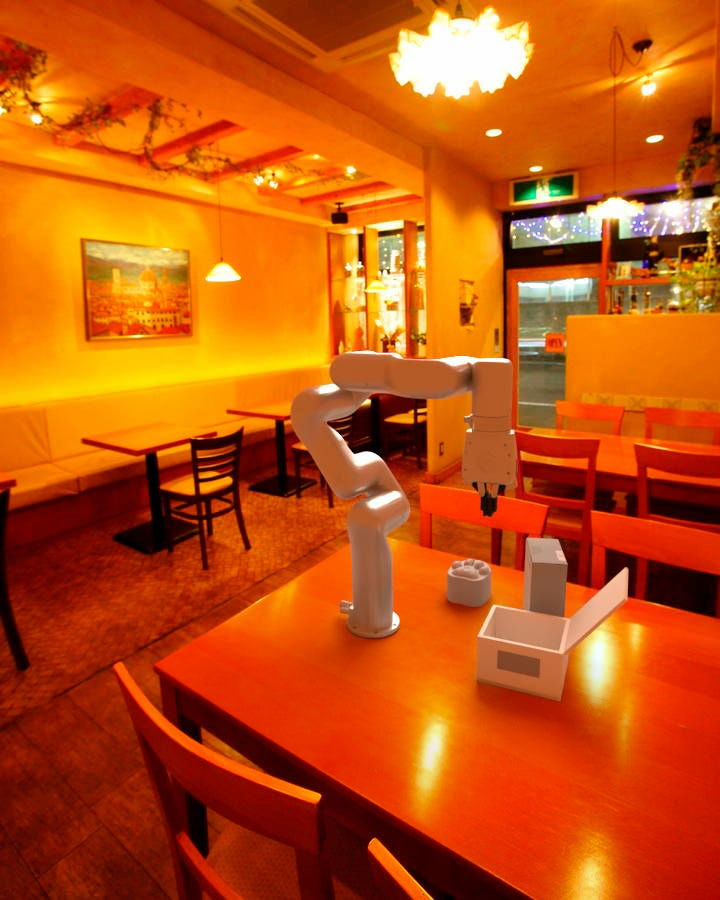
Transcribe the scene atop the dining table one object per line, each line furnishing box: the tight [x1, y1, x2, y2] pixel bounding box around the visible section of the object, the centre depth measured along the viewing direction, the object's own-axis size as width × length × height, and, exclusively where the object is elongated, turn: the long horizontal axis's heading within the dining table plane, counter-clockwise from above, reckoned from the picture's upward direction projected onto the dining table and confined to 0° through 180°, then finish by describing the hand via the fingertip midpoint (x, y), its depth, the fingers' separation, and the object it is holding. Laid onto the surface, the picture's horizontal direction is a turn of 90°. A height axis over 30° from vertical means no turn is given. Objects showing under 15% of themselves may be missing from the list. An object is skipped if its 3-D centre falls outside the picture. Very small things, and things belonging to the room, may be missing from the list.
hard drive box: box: [522, 537, 569, 618], centre depth 131 cm, size 16×8×20 cm, turn 168°
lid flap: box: [563, 566, 629, 655], centre depth 108 cm, size 16×14×1 cm
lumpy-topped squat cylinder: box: [446, 558, 492, 608], centre depth 150 cm, size 10×13×9 cm
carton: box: [476, 604, 571, 702], centre depth 116 cm, size 16×14×10 cm
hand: (488, 514), depth 114 cm, fingers closed
